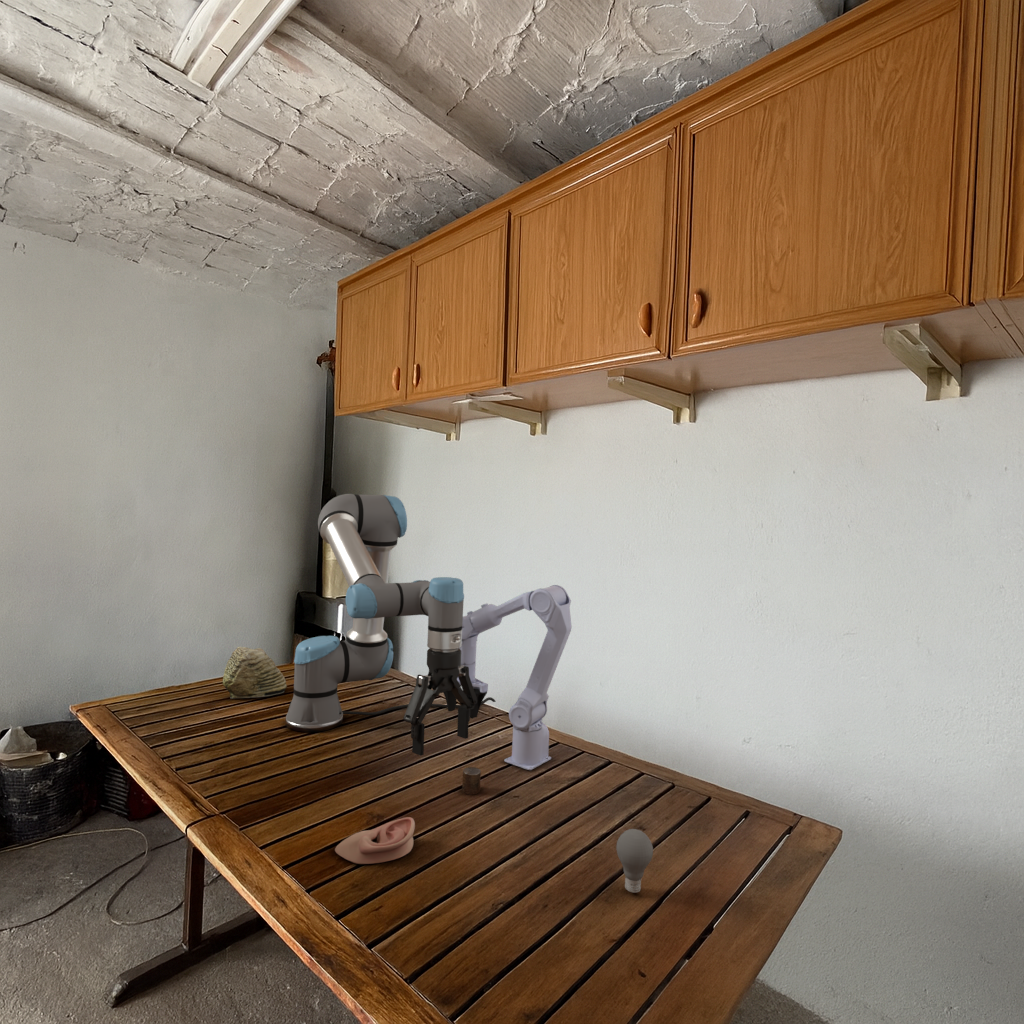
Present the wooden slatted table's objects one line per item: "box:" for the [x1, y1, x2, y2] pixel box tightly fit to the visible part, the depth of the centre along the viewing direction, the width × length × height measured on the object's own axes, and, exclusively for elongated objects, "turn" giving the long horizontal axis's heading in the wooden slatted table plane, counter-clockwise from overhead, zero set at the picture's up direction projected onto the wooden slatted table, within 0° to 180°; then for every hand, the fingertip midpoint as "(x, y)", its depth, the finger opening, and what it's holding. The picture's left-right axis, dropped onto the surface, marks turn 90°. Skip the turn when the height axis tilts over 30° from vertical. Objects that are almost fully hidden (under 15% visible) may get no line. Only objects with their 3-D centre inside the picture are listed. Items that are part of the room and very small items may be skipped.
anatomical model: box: [334, 816, 416, 865], centre depth 115 cm, size 13×4×12 cm
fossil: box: [222, 646, 288, 699], centre depth 198 cm, size 9×18×15 cm, turn 132°
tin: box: [461, 766, 482, 796], centre depth 140 cm, size 4×4×4 cm
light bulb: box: [615, 828, 654, 894], centre depth 106 cm, size 6×6×10 cm
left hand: (440, 745), depth 139 cm, fingers open, 13 cm apart
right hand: (462, 713), depth 165 cm, fingers open, 7 cm apart
